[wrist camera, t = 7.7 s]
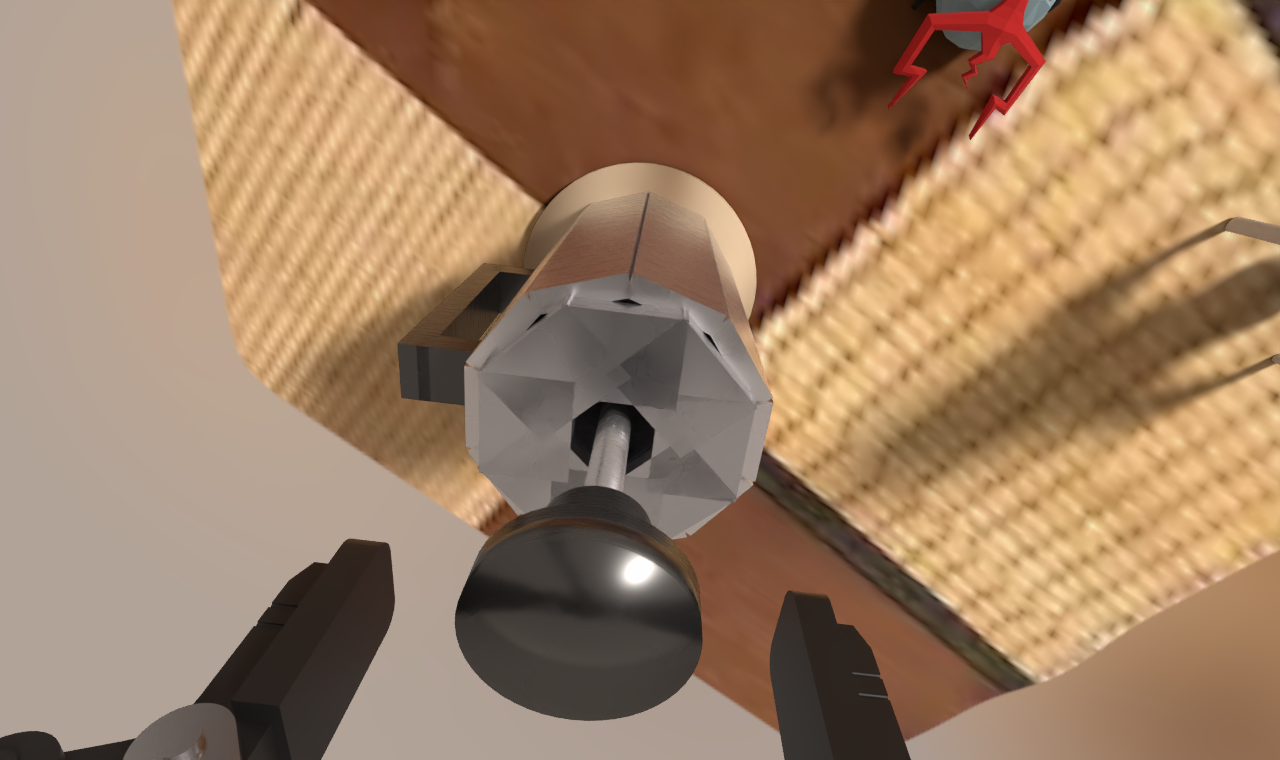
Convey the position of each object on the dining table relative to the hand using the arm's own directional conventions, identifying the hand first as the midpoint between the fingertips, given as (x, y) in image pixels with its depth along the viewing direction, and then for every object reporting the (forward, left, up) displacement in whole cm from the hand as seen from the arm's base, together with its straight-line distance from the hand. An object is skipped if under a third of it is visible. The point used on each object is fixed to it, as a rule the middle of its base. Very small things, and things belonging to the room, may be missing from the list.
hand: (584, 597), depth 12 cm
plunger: (0, 0, -17) cm, 17 cm away
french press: (-1, 0, -21) cm, 21 cm away
